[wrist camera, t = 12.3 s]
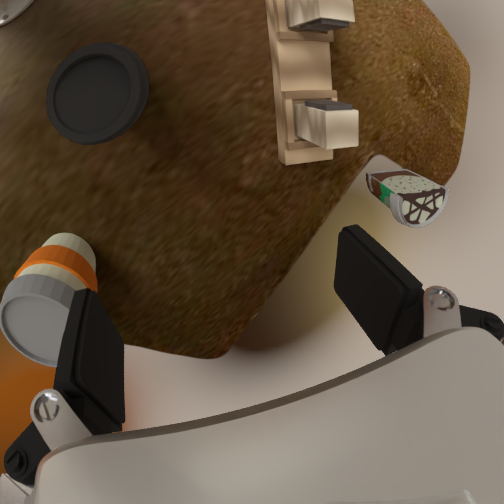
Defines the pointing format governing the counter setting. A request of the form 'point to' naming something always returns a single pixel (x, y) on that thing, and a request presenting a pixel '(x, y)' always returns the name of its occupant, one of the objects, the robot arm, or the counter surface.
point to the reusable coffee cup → (46, 296)
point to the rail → (302, 65)
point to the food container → (408, 196)
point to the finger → (327, 123)
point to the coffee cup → (97, 93)
